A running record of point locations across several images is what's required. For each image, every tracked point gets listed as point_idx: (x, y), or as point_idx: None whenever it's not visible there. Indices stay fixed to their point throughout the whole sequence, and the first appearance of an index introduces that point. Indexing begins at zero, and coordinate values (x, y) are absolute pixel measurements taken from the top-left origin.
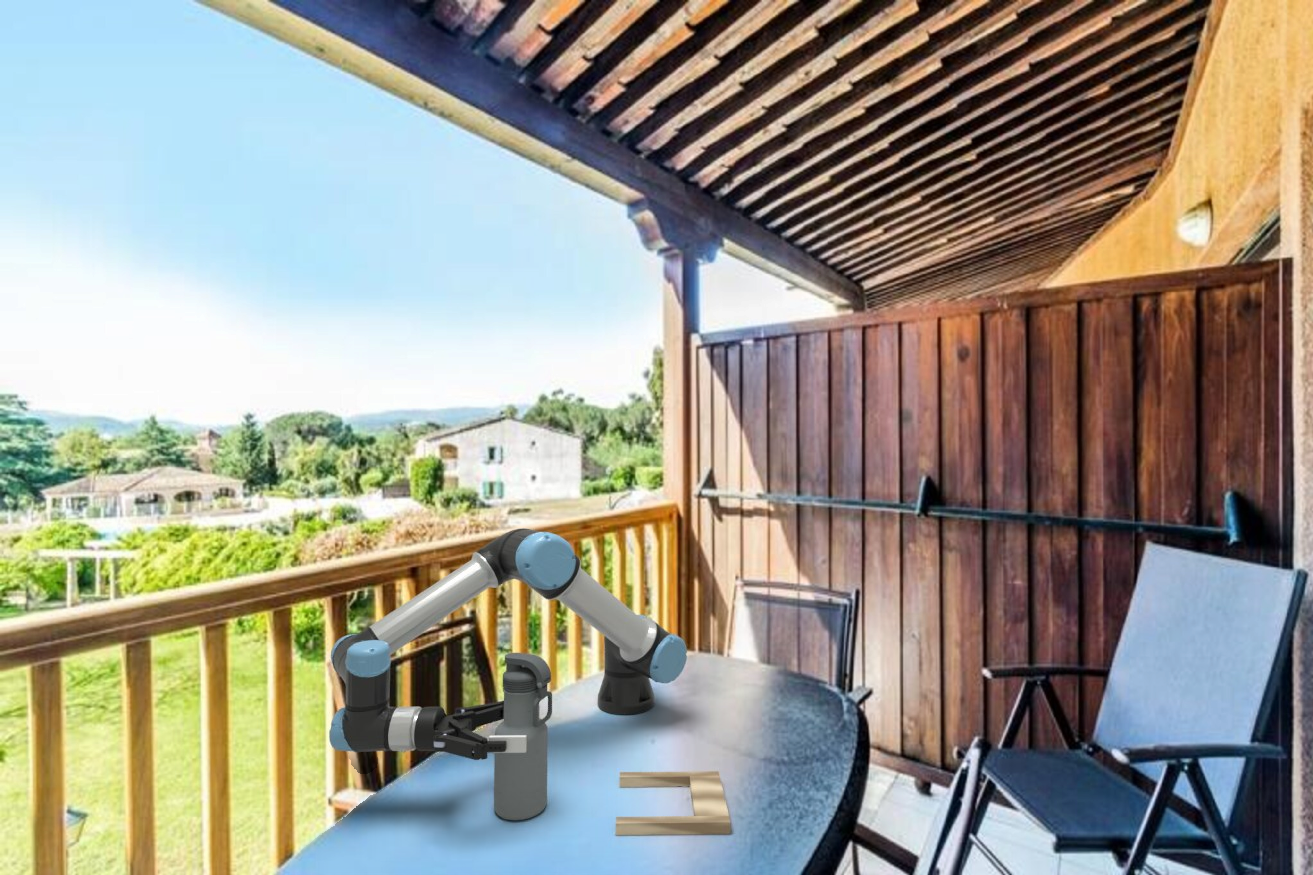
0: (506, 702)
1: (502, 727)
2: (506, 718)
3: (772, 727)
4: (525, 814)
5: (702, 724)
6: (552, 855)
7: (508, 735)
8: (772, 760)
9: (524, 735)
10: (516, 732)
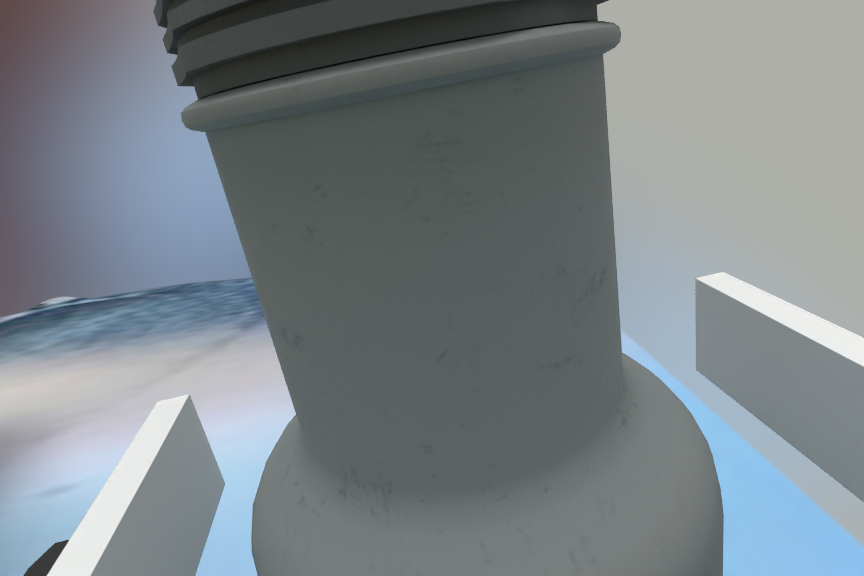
0: (595, 181)
1: (624, 475)
2: (607, 358)
3: (121, 340)
4: None
5: (25, 423)
6: (776, 520)
7: (793, 327)
8: (254, 320)
9: (707, 282)
10: (640, 369)
